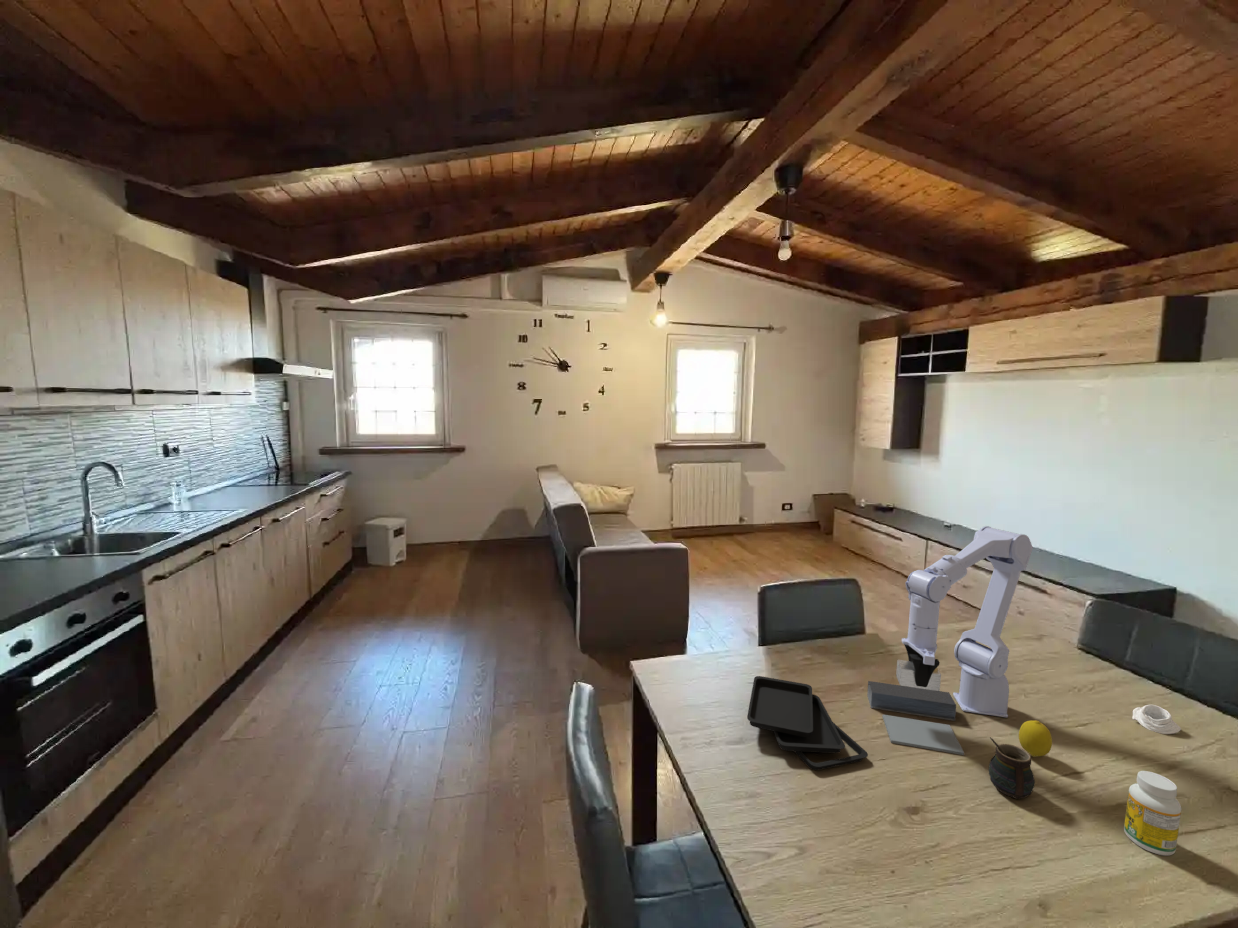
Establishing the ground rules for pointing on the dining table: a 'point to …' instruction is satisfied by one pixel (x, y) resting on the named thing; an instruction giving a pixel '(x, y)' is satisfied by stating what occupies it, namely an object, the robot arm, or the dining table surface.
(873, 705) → the body
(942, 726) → the mat
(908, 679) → the pale grey block
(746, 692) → the dining table surface
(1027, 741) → the lemon
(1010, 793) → the mate gourd
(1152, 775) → the supplement bottle
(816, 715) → the stack of dark trays
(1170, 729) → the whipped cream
